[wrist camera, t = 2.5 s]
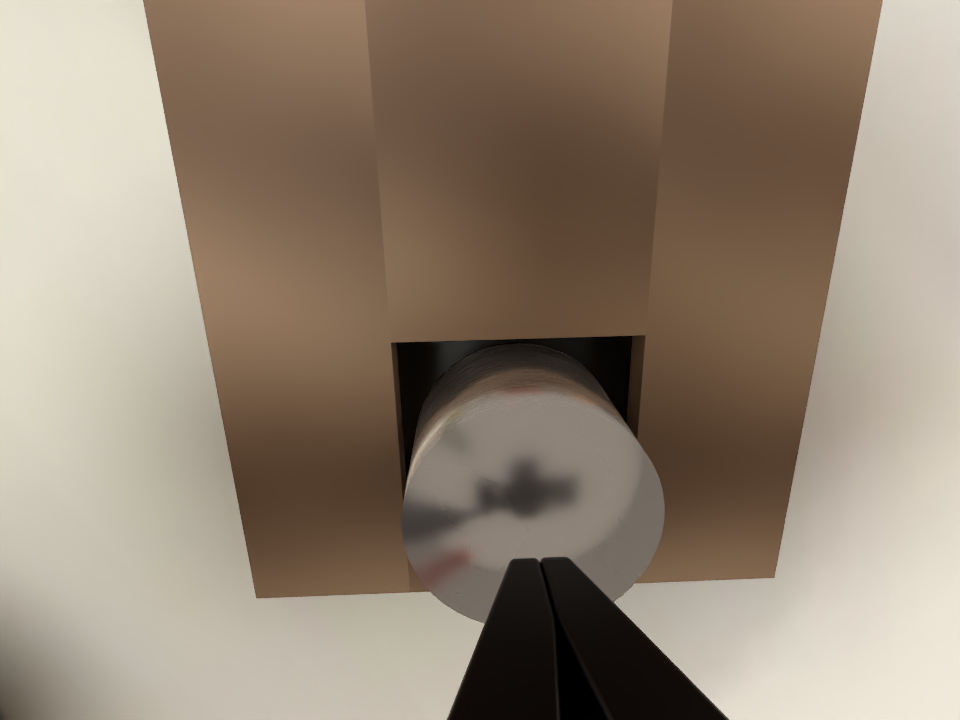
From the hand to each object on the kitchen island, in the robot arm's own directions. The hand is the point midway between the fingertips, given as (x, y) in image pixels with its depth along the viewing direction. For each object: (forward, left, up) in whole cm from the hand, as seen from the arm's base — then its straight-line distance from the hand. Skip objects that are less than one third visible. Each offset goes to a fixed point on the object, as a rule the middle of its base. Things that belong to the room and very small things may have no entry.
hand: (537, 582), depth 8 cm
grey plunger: (0, 0, -5) cm, 5 cm away
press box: (+6, 0, -8) cm, 10 cm away
